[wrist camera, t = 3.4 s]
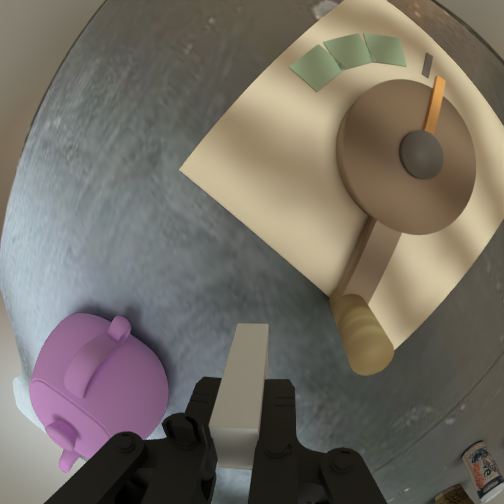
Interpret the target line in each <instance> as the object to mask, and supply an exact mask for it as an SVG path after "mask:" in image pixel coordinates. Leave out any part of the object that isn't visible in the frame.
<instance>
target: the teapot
mask: <svg viewBox="0 0 504 504" xmlns="http://www.w3.org/2000/svg"><path fill="white" fill-rule="evenodd" d="M130 331H131V325H130V323H129V321H128V320H127V319H126V318H124V317H121V316H116V317H115V318H114V319H113V320H112V322H110V321H108V320H106V319H104V318H102V317H99V316H95V315H92V314H85V313H76V314H72V315H69V316H68V317H66V318H65V319H64V320H62V321H61V322H60V323H59V324H58V325H57V327H56V328H55V329H54V330H53V331H52V332H51V334H50V335H49V336H48V338H47V340H46V341H45V343H44V345H43V347H42V349H41V351H40V353H39V356H38V358H37V361H36V364H35V367H34V371H33V374H32V378H31V383H30V399H31V403H32V406H33V409H34V411H35V413H36V415H37V417H38V418H39V420H40V421H41V423H42V424H43V425H44V426H45V430H46V432H47V434H48V435H49V437H50V438H51V439H52V440H53V441H54V442H55V443H56V444H57V445H59V446H60V447H62V448H63V449H64V450H63V453H62V456H61V458H60V460H59V468H60V469H61V470H62V471H63V472H65V473H67V472H69V471H70V469H71V467H72V465H73V464H74V463H75V461H76V460H77V459H78V458H79V457H80V456H81V455H82V456H84V457H86V458H88V459H90V458H91V457H92V456H93V455H94V454H95V453H96V452H97V451H98V450H99V449H100V448H101V447H102V446H103V445H104V444H105V443H106V442H107V441H108V440H109V439H110V438H111V437H112V436H114V435H115V434H117V433H120V432H123V431H130V432H134V433H136V434H138V435H139V436H140V437H141V438H142V440H145V439H146V438H147V437H148V436H149V435H150V434H151V433H152V432H153V431H154V430H155V428H156V427H157V425H158V424H159V423H160V421H161V420H162V418H163V416H164V414H165V412H166V409H167V405H168V396H169V387H168V381H167V376H166V373H165V370H164V368H163V366H162V364H161V362H160V360H159V358H158V357H157V355H156V354H155V353H154V352H153V351H152V350H151V349H150V348H149V347H147V346H146V345H145V344H144V343H142V342H141V341H140V340H138V339H137V338H136V337H134V336H133V335H131V334H130Z"/></svg>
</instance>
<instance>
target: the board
mask: <svg viewBox="0 0 504 504" xmlns="http://www.w3.org/2000/svg"><path fill="white" fill-rule="evenodd" d="M437 75H438V76H439V77H441V78H442V79H444V80H445V81H446V83H445V88H444V93H443V96H444V97H445V98H446V99H447V100H448V101H449V102H450V103H451V104H452V105H453V106H454V107H455V108H456V109H457V111H458V112H459V114H460V115H461V117H462V118H463V120H464V122H465V124H466V126H467V128H468V130H469V132H470V135H471V138H472V141H473V145H474V150H475V155H476V178H475V184H474V188H473V192H472V195H471V197H470V200H469V202H468V204H467V206H466V208H465V209H464V211H463V212H462V213H461V215H460V216H459V217H458V218H457V219H456V220H455V221H454V222H453V223H452V224H450V225H449V226H447V227H446V228H444V229H443V230H440V231H438V232H435V233H432V234H427V235H410V234H406V233H402V234H401V236H400V239H399V241H398V243H397V246H396V248H395V250H394V252H393V255H392V257H391V259H390V261H389V263H388V266H387V268H386V270H385V272H384V274H383V276H382V278H381V280H380V282H379V284H378V286H377V288H376V290H375V292H374V294H373V296H372V298H371V300H370V302H369V304H368V306H369V307H370V309H371V311H372V312H373V314H374V315H375V317H376V318H377V320H378V322H379V323H380V325H381V326H382V328H383V330H384V331H385V333H386V334H387V336H388V338H389V339H390V341H391V343H392V344H393V347H394V350H395V349H396V348H397V347H398V346H399V345H400V344H401V343H403V342H404V341H405V340H406V339H407V338H408V337H409V336H410V335H411V334H412V333H413V332H414V331H415V330H416V329H417V328H418V327H419V326H420V325H421V324H422V323H423V322H424V321H425V320H426V318H427V317H428V316H429V315H430V314H431V313H432V312H433V311H434V310H435V309H436V308H437V307H438V305H439V304H440V303H441V302H442V301H443V300H444V299H445V298H446V296H447V295H448V294H449V293H450V292H451V291H452V289H453V288H454V287H455V286H456V284H457V283H458V282H459V281H460V280H461V278H462V277H463V276H464V275H465V273H466V272H467V271H468V269H469V268H470V267H471V265H472V264H473V263H474V261H475V260H476V259H477V257H478V256H479V255H480V253H481V252H482V250H483V249H484V248H485V246H486V245H487V243H488V242H489V240H490V239H491V237H492V236H493V234H494V233H495V231H496V230H497V228H498V227H499V225H500V223H501V222H502V220H503V218H504V126H503V125H502V123H501V122H500V120H499V119H498V117H497V116H496V114H495V113H494V111H493V110H492V108H491V107H490V105H489V104H488V103H487V101H486V100H485V99H484V97H483V96H482V95H481V93H480V92H479V91H478V89H477V88H476V87H475V85H474V84H473V83H472V82H471V80H470V79H469V78H468V77H467V76H466V74H465V73H464V72H463V71H462V70H461V69H460V68H459V66H458V65H457V64H456V63H455V62H454V61H453V60H452V59H451V58H450V56H449V55H448V54H447V53H446V52H445V51H444V50H443V49H442V48H441V47H440V46H439V45H438V44H437V43H436V42H435V41H434V40H433V39H432V38H431V37H430V36H428V35H427V34H426V33H425V32H424V31H423V30H422V29H421V28H420V27H419V26H417V25H416V24H415V23H414V22H413V21H412V20H410V19H409V18H408V17H407V16H406V15H404V14H403V13H402V12H401V11H399V10H398V9H397V8H396V7H394V6H393V5H392V4H390V3H389V2H388V1H386V0H344V1H343V2H341V3H340V4H339V5H338V6H336V7H335V8H334V9H332V10H331V11H330V12H329V13H327V14H326V15H325V16H324V17H323V18H321V19H320V20H319V21H318V22H317V23H315V24H314V25H313V26H312V27H311V28H310V29H308V30H307V31H306V32H305V33H304V34H303V35H302V36H300V37H299V38H298V39H297V40H296V41H295V42H294V43H293V44H292V45H291V46H289V47H288V48H287V49H286V50H285V51H284V52H283V53H282V54H281V55H280V56H279V57H278V58H277V59H276V60H275V61H274V62H273V63H272V64H271V65H270V66H269V67H268V68H267V69H266V70H265V71H264V72H263V73H262V74H261V75H260V76H259V77H258V78H257V79H256V80H255V81H254V82H253V83H252V84H251V85H250V86H249V87H248V88H247V89H246V90H245V91H244V93H243V94H242V95H241V96H240V97H239V98H238V99H237V100H236V101H235V102H234V104H233V105H232V106H231V107H230V108H229V109H228V110H227V111H226V113H225V114H224V115H223V116H222V117H221V118H220V119H219V121H218V122H217V123H216V124H215V125H214V126H213V128H212V129H211V130H210V131H209V132H208V134H207V135H206V136H205V137H204V139H203V140H202V141H201V142H200V143H199V145H198V146H197V147H196V148H195V150H194V151H193V152H192V154H191V155H190V156H189V157H188V159H187V160H186V161H185V163H184V164H183V165H182V167H181V168H180V169H179V170H180V171H181V172H182V173H184V174H185V175H186V176H187V177H189V178H190V179H191V180H192V181H193V182H195V183H196V184H197V185H198V186H199V187H201V188H202V189H203V190H204V191H205V192H207V193H208V194H209V195H210V196H211V197H213V198H214V199H215V200H216V201H217V202H219V203H220V204H221V205H222V206H223V207H225V208H226V209H227V210H228V211H229V212H231V213H232V214H233V215H234V216H235V217H236V218H238V219H239V220H240V221H241V222H242V223H244V224H245V225H246V226H247V227H248V228H249V229H251V230H252V231H253V232H254V233H255V234H257V235H258V236H259V237H260V238H261V239H262V240H264V241H265V242H266V243H267V244H268V245H269V246H271V247H272V248H273V249H274V250H275V251H276V252H278V253H279V254H280V255H281V256H282V257H283V258H285V259H286V260H287V261H288V262H289V263H290V264H292V265H293V266H294V267H295V268H296V269H297V270H299V271H300V272H301V273H302V274H303V275H304V276H305V277H307V278H308V279H309V280H310V281H311V282H312V283H314V284H315V285H316V286H317V287H318V288H319V289H320V290H322V291H323V292H324V293H325V294H326V295H327V296H328V297H330V296H331V294H332V292H333V291H334V290H335V289H337V287H338V285H339V283H340V281H341V279H342V277H343V275H344V273H345V270H346V268H347V266H348V264H349V262H350V260H351V257H352V255H353V253H354V251H355V248H356V246H357V244H358V242H359V239H360V237H361V235H362V232H363V230H364V228H365V225H366V223H367V220H368V218H369V216H368V215H367V214H366V213H364V212H363V211H362V210H361V209H360V208H359V207H358V206H357V204H356V203H355V202H354V201H353V199H352V198H351V196H350V195H349V193H348V192H347V190H346V188H345V186H344V184H343V181H342V179H341V176H340V173H339V169H338V164H337V156H336V142H337V135H338V131H339V127H340V124H341V122H342V120H343V117H344V116H345V114H346V113H347V111H348V109H349V108H350V107H351V106H352V105H353V104H354V103H355V102H356V101H357V100H358V99H359V98H360V97H361V96H362V95H363V94H364V93H365V92H366V91H368V90H369V89H370V88H372V87H373V86H375V85H377V84H379V83H382V82H384V81H388V80H394V79H406V80H413V81H416V82H420V83H423V84H425V85H427V86H429V87H431V88H433V84H434V79H435V77H436V76H437Z"/></svg>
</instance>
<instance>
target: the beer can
mask: <svg viewBox="0 0 504 504" xmlns="http://www.w3.org/2000/svg"><path fill="white" fill-rule="evenodd" d="M462 460H463V462H464V464H465V466H466V468H467V470H468V472H469V475H470V477H471V479H472V481H473V484H474V486H475V488H476V491H477V493H478V496H479V498H480V501H482V502H484V503H486V502H488V501H489V500H491V499H493V498H494V497H495V496H497V495H498V494H499V493H500V492H502V491H503V490H504V479H503V477H502V475H501V473H500V471H499V469H498V467H497V465H496V463H495V462H494V460H493V458H492V456H491V454H490V452H489V450H488V449H487V447H486V445H485V443H484V442H479V443H476V444H474V445H473V446H471V447H470V448H469V449H468V450H467V451H466V452H465V453H464V455H463V457H462Z"/></svg>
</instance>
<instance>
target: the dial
mask: <svg viewBox="0 0 504 504" xmlns="http://www.w3.org/2000/svg"><path fill="white" fill-rule="evenodd" d="M445 83H446V81H445V80H444V79H442V78H441V77H439V76H438V75H437V76H436V77H435V79H434V84H433V88H431V87H429V86H427V85H425V84H423V83H420V82H416V81H413V80H406V79H394V80H388V81H384V82H382V83H379V84H377V85H375V86H373V87H372V88H370V89H369V90H368V91H366V92H365V93H364V94H363V95H362V96H361V97H360V98H359V99H358V100H357V101H356V102H355V103H354V104H353V105H352V106H351V107H350V108H349V109H348V111H347V113H346V114H345V116H344V117H343V120H342V122H341V124H340V127H339V131H338V135H337V142H336V156H337V164H338V169H339V173H340V176H341V179H342V181H343V184H344V186H345V188H346V190H347V192H348V193H349V195H350V196H351V198H352V199H353V201H354V202H355V203H356V204H357V206H358V207H359V208H360V209H361V210H362V211H363V212H364V213H366V214H367V215H368V216H369V218H368V220H367V223H366V225H365V228H364V230H363V232H362V235H361V237H360V239H359V242H358V244H357V246H356V248H355V251H354V253H353V255H352V257H351V260H350V262H349V264H348V266H347V268H346V270H345V273H344V275H343V277H342V279H341V281H340V283H339V285H338V287H337V289H335V290H334V291H333V292H332V294H331V296H330V298H329V306H330V309H331V312H332V315H333V318H334V320H335V323H336V326H337V329H338V332H339V334H340V337H341V340H342V343H343V346H344V349H345V352H346V355H347V358H348V361H349V364H350V367H351V369H352V370H353V371H354V372H355V373H357V374H359V375H372V374H375V373H378V372H380V371H381V370H383V369H384V368H385V367H386V366H387V365H388V364H389V363H390V362H391V360H392V358H393V355H394V347H393V344H392V343H391V341H390V339H389V338H388V336H387V334H386V333H385V331H384V330H383V328H382V326H381V325H380V323H379V322H378V320H377V318H376V317H375V315H374V314H373V312H372V311H371V309H370V307H369V306H368V304H369V302H370V300H371V298H372V296H373V294H374V292H375V290H376V288H377V286H378V284H379V282H380V280H381V278H382V276H383V274H384V272H385V270H386V268H387V266H388V263H389V261H390V259H391V257H392V255H393V252H394V250H395V248H396V246H397V243H398V241H399V239H400V236H401V234H402V233H406V234H410V235H427V234H432V233H435V232H438V231H440V230H443V229H444V228H446V227H447V226H449V225H450V224H452V223H453V222H454V221H455V220H456V219H457V218H458V217H459V216H460V215H461V213H462V212H463V211H464V209H465V208H466V206H467V204H468V202H469V200H470V197H471V195H472V192H473V188H474V184H475V178H476V155H475V150H474V145H473V141H472V138H471V135H470V132H469V130H468V128H467V126H466V124H465V122H464V120H463V118H462V117H461V115H460V114H459V112H458V111H457V109H456V108H455V107H454V106H453V105H452V104H451V103H450V102H449V101H448V100H447V99H446V98H445V97H444V96H443V93H444V88H445Z"/></svg>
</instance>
